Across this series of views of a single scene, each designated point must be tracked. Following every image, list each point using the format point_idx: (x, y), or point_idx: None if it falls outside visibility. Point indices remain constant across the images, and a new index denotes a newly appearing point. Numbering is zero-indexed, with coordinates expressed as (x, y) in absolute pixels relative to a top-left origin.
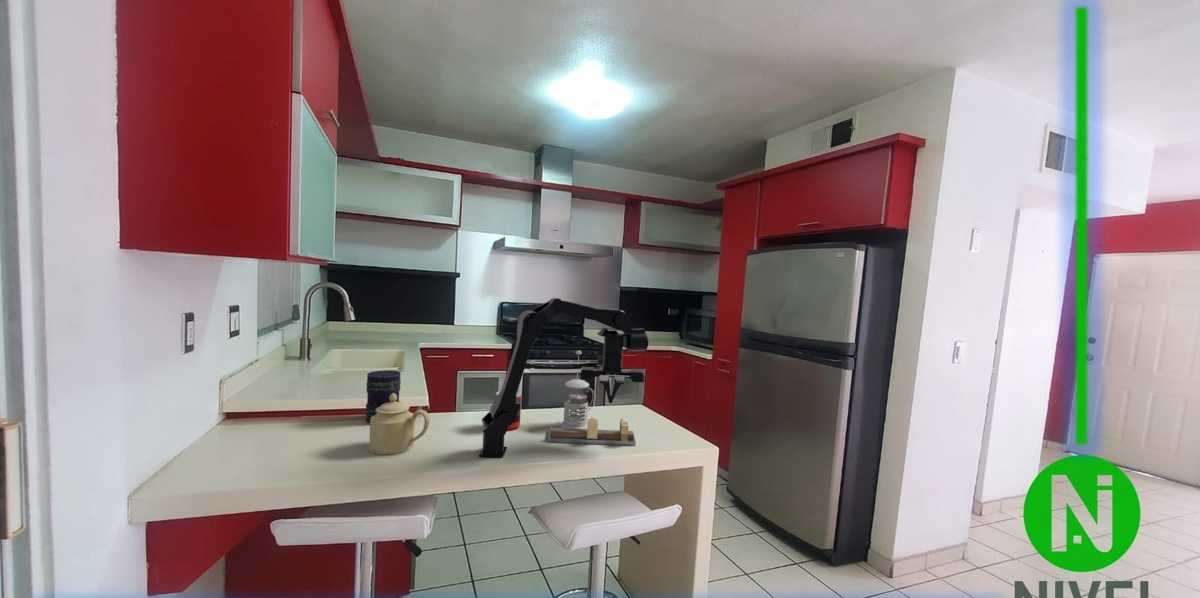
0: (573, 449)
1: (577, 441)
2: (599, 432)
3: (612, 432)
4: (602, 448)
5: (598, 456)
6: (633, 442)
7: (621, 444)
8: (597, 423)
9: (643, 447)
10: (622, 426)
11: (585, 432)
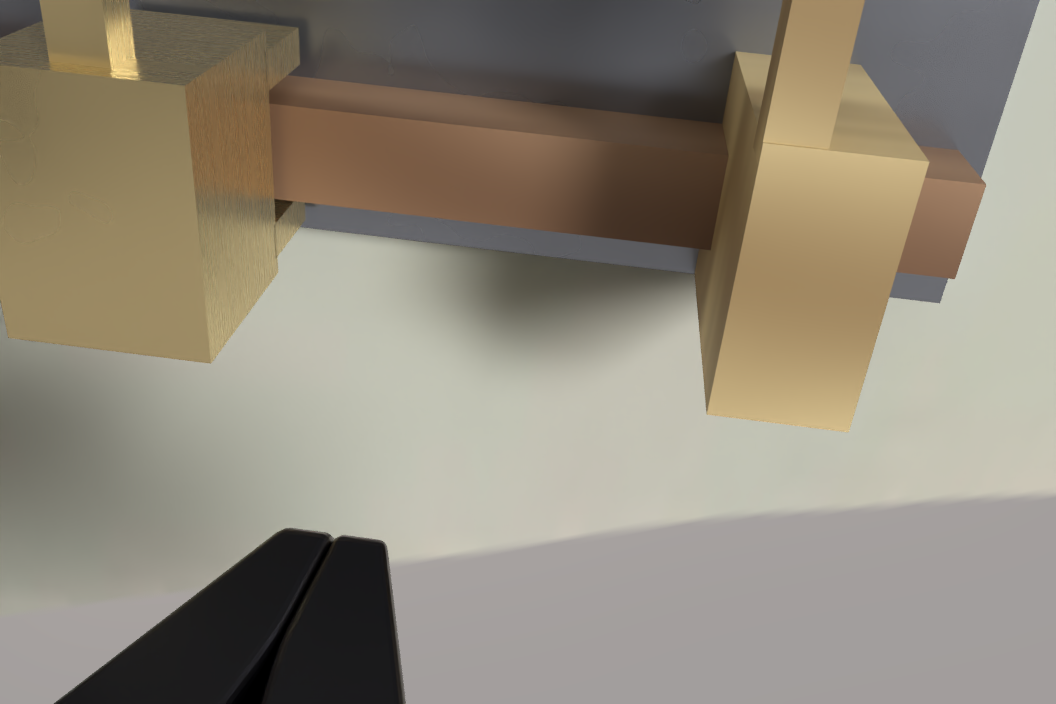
0: (37, 365)
1: None
2: (321, 156)
3: (566, 161)
4: (406, 349)
5: None
6: (900, 290)
7: None
8: (202, 350)
9: (1024, 336)
10: (720, 411)
11: None
